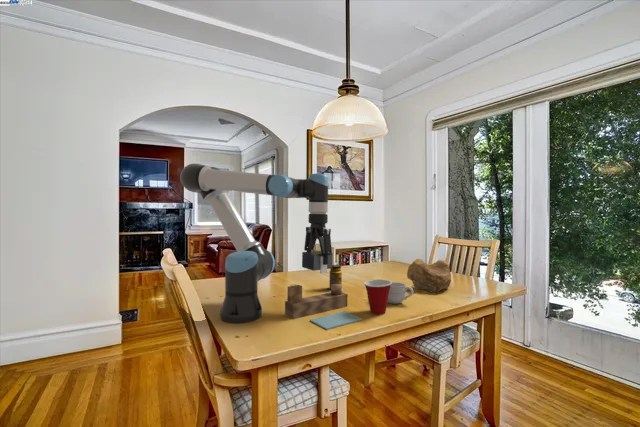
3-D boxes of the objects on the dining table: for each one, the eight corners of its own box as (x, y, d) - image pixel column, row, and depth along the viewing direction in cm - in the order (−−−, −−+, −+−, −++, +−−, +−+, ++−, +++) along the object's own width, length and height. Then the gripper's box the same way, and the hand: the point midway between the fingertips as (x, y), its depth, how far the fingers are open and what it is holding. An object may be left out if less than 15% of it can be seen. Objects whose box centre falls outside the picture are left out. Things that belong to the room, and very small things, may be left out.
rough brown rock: (422, 297, 144) (425, 266, 143) (402, 286, 160) (405, 257, 159) (462, 295, 151) (465, 265, 150) (439, 284, 167) (442, 257, 166)
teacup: (375, 301, 134) (375, 283, 134) (389, 296, 142) (389, 279, 142) (404, 309, 124) (404, 289, 124) (417, 303, 132) (417, 284, 132)
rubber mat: (326, 329, 102) (326, 328, 102) (310, 321, 110) (310, 319, 110) (362, 320, 112) (362, 318, 112) (344, 312, 120) (344, 311, 120)
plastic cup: (363, 306, 127) (364, 277, 127) (390, 308, 125) (391, 279, 125) (362, 315, 116) (363, 284, 116) (392, 317, 114) (392, 285, 114)
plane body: (293, 319, 112) (293, 289, 112) (284, 314, 117) (285, 285, 117) (347, 306, 127) (347, 279, 127) (338, 302, 132) (338, 277, 132)
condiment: (345, 290, 153) (345, 266, 153) (331, 292, 148) (331, 267, 148) (336, 287, 159) (336, 263, 159) (322, 289, 155) (322, 265, 154)
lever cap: (313, 270, 116) (313, 252, 116) (302, 267, 123) (302, 249, 122) (332, 268, 121) (332, 250, 121) (320, 265, 128) (320, 248, 128)
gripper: (342, 214, 115) (341, 274, 116) (311, 212, 132) (310, 265, 133) (326, 213, 111) (325, 277, 111) (296, 212, 128) (295, 267, 128)
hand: (317, 270), depth 122 cm, fingers closed on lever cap, 8 cm apart
